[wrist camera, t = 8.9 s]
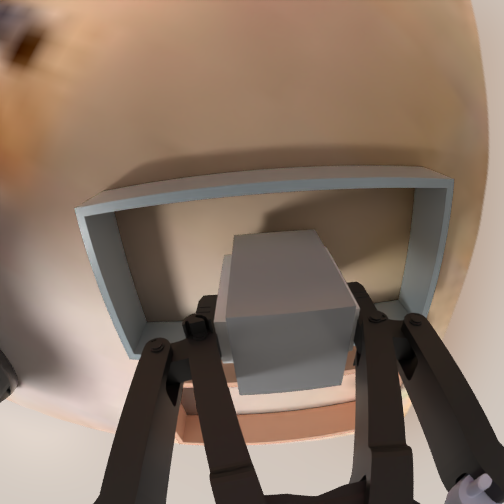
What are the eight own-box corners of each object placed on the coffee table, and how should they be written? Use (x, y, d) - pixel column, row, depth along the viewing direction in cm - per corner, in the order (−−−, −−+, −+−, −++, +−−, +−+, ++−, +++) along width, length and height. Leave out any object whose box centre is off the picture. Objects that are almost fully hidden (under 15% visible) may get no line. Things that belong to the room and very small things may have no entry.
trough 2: (183, 417, 30) (179, 443, 26) (151, 349, 25) (141, 381, 21) (372, 399, 29) (381, 425, 26) (396, 327, 24) (413, 356, 20)
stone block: (241, 301, 20) (239, 395, 13) (234, 235, 18) (225, 317, 10) (313, 295, 20) (341, 384, 13) (314, 229, 18) (356, 305, 10)
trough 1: (142, 327, 23) (129, 359, 20) (102, 191, 18) (74, 208, 14) (402, 304, 23) (421, 332, 19) (422, 166, 18) (454, 179, 14)
